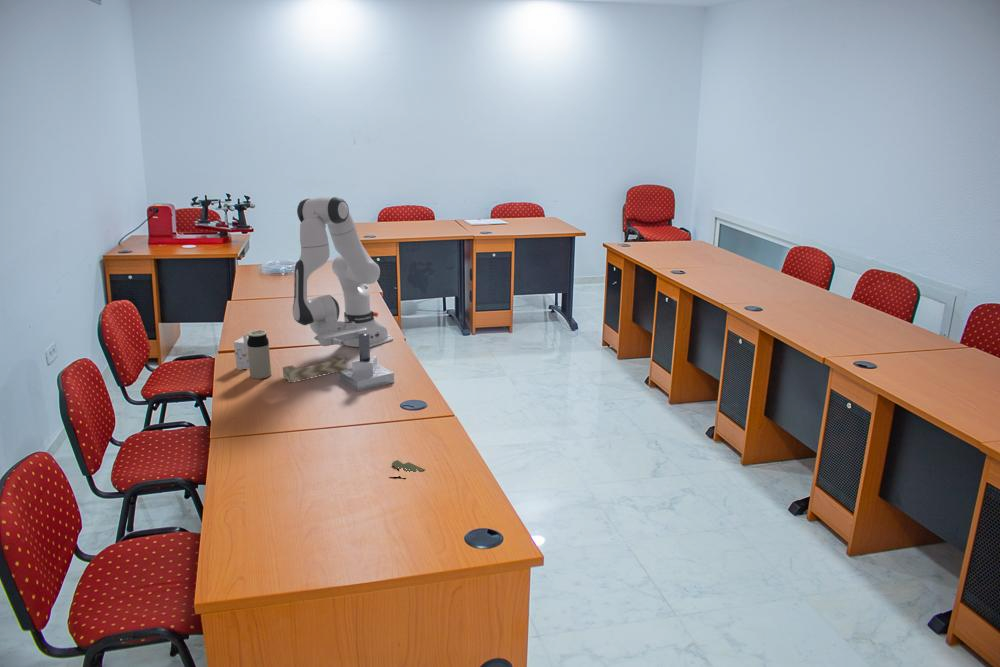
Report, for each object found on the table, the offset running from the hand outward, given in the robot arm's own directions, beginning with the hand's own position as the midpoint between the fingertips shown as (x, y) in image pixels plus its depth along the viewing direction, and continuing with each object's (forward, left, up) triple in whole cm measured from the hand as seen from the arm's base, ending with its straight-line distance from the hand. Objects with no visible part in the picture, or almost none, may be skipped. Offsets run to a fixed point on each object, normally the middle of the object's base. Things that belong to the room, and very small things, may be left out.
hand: (352, 340), depth 312 cm
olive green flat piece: (+30, +86, -14) cm, 92 cm away
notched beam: (+12, -9, -14) cm, 21 cm away
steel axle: (0, +10, -10) cm, 14 cm away
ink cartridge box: (+30, -34, -14) cm, 48 cm away
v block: (0, +10, -14) cm, 17 cm away
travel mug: (+30, -20, -14) cm, 39 cm away
